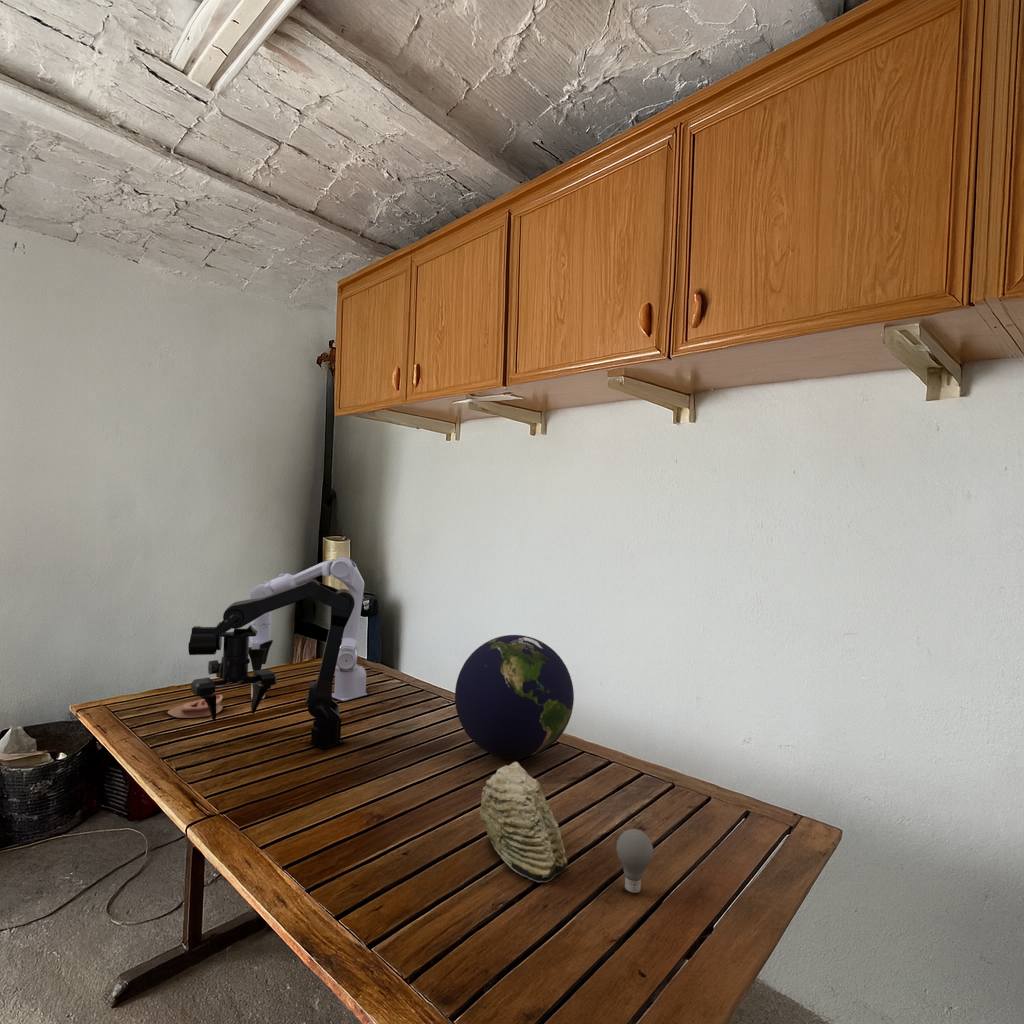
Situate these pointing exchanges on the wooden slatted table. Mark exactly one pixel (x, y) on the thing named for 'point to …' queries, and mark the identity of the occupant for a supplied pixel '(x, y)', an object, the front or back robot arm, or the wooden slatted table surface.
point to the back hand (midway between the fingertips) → (259, 667)
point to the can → (252, 693)
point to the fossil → (522, 824)
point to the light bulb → (634, 857)
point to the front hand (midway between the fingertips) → (233, 716)
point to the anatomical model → (195, 709)
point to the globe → (514, 696)
